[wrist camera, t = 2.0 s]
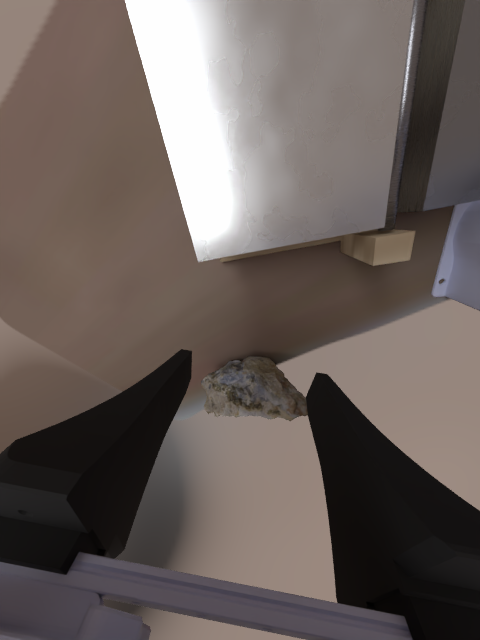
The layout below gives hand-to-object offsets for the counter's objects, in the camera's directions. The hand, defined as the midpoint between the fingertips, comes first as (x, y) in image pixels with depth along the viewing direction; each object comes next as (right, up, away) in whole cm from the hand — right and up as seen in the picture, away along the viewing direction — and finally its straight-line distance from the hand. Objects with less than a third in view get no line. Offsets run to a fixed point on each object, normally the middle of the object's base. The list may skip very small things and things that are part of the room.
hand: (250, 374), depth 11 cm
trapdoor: (+4, +15, +2) cm, 16 cm away
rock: (0, -3, +5) cm, 6 cm away
